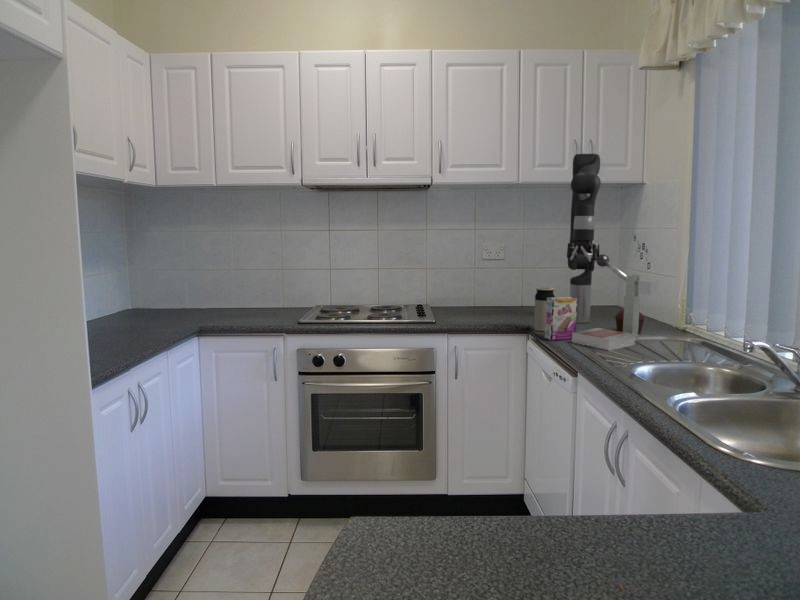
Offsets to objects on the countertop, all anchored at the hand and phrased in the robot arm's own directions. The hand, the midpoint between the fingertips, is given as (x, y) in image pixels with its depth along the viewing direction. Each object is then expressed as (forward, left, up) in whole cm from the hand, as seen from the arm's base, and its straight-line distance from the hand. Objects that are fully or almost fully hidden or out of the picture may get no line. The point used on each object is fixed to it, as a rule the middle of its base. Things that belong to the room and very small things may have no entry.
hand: (582, 270), depth 215 cm
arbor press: (+10, +5, -27) cm, 29 cm away
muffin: (+4, +26, -27) cm, 38 cm away
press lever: (+8, +16, -9) cm, 20 cm away
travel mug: (-21, +3, -27) cm, 34 cm away
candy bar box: (-5, -6, -27) cm, 28 cm away
